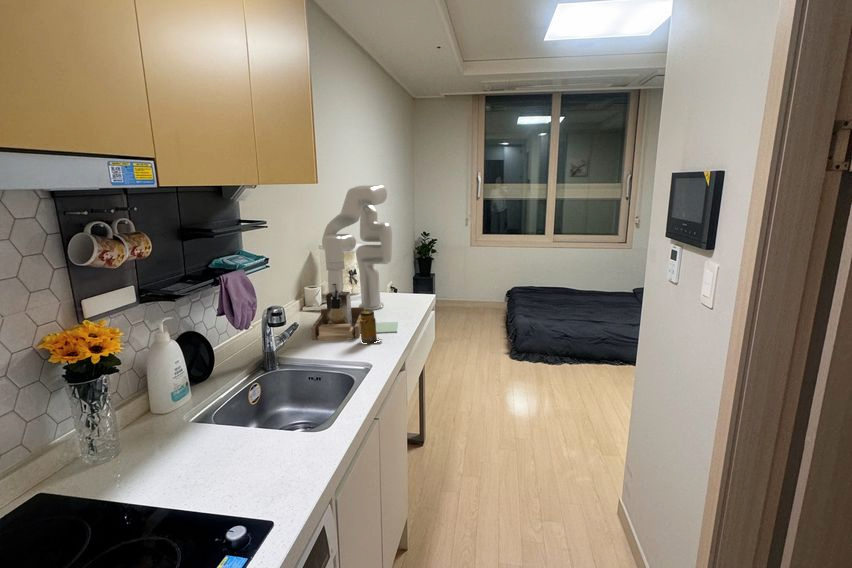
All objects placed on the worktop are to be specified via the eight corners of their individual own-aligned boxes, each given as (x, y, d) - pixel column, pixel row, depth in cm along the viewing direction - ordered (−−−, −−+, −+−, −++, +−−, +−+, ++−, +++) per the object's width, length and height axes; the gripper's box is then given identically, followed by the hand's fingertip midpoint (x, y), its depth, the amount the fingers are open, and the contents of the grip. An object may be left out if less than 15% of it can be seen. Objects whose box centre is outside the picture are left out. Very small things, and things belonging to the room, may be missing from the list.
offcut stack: (320, 336, 181) (319, 324, 180) (354, 335, 181) (353, 323, 180) (318, 340, 177) (317, 328, 176) (353, 339, 177) (352, 326, 176)
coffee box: (327, 331, 187) (324, 295, 183) (332, 327, 193) (329, 291, 189) (349, 331, 186) (346, 294, 182) (353, 326, 192) (350, 291, 188)
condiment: (362, 338, 177) (359, 309, 174) (383, 337, 177) (381, 309, 174) (359, 344, 170) (357, 315, 167) (381, 344, 170) (379, 314, 167)
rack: (322, 323, 198) (321, 308, 196) (365, 321, 198) (363, 307, 197) (311, 340, 177) (310, 323, 175) (359, 338, 177) (358, 321, 176)
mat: (368, 324, 195) (368, 323, 195) (398, 322, 195) (397, 321, 195) (365, 333, 182) (365, 332, 182) (396, 332, 182) (396, 331, 182)
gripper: (330, 263, 191) (332, 301, 195) (321, 269, 175) (325, 311, 178) (347, 262, 192) (349, 300, 195) (340, 268, 175) (343, 310, 178)
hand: (338, 305), depth 186 cm, fingers open, 9 cm apart
